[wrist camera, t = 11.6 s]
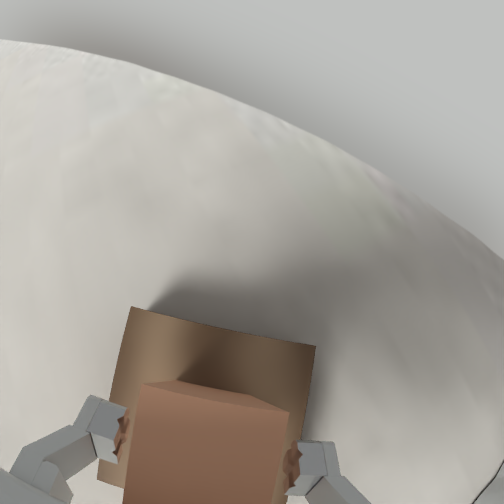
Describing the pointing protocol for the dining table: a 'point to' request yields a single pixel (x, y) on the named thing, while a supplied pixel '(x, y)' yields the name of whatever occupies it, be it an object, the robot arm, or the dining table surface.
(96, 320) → the dining table surface
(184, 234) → the dining table surface
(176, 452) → the pillar block
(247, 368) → the base block
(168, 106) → the dining table surface
